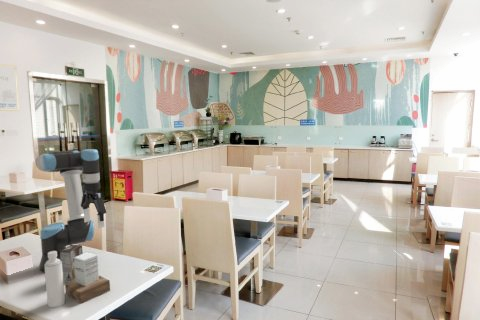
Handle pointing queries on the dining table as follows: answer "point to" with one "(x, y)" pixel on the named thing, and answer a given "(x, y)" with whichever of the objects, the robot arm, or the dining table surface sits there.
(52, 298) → the white bottle
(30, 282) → the dining table surface
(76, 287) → the walnut block
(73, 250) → the coffee box
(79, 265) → the supplement box
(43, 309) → the dining table surface
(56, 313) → the dining table surface
